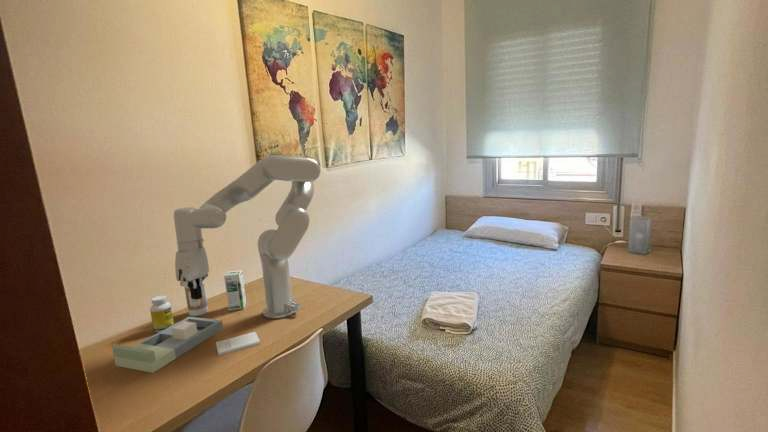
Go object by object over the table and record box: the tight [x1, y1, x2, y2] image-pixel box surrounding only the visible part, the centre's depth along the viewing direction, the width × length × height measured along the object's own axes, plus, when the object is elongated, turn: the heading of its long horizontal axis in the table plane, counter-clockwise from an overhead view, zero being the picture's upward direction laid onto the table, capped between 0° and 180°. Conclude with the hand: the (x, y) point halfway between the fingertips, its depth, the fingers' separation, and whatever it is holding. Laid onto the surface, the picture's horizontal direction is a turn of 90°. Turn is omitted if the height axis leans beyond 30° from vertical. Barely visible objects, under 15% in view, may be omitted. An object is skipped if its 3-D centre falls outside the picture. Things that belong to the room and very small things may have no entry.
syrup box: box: [223, 269, 247, 312], centre depth 156 cm, size 6×6×14 cm
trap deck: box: [111, 316, 224, 374], centre depth 128 cm, size 15×28×6 cm, turn 160°
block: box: [172, 321, 198, 340], centre depth 129 cm, size 5×5×4 cm
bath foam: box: [183, 279, 209, 317], centre depth 152 cm, size 7×7×20 cm
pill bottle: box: [149, 295, 175, 333], centre depth 141 cm, size 6×6×12 cm
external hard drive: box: [215, 331, 261, 356], centre depth 127 cm, size 2×8×12 cm
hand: (196, 298), depth 134 cm, fingers closed
